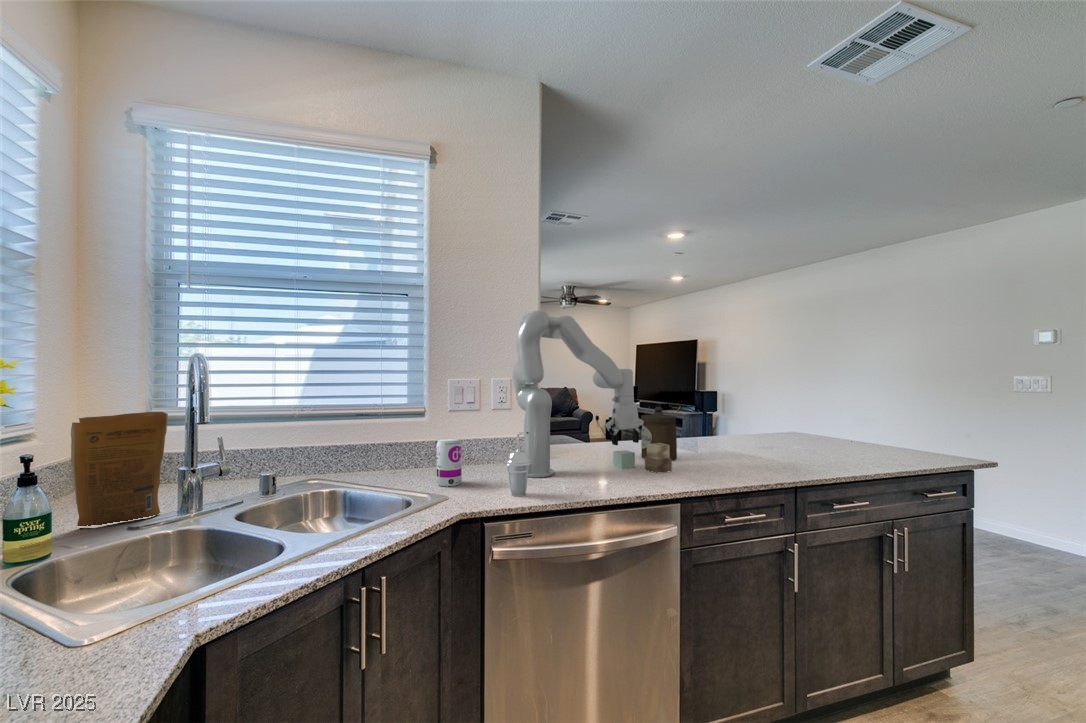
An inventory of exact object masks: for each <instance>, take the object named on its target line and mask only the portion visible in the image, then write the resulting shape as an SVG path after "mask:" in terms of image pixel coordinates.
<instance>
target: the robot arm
mask: <svg viewBox="0 0 1086 723" xmlns="http://www.w3.org/2000/svg"><path fill="white" fill-rule="evenodd" d="M519 325H520V328H519V330H518V332H517V337H516V351H517V352H516V353H517V362H516V363H515V364H514V366H513V368H512V380H513V386H514V392H515V397H516V398H515V399H516V401H517V404H518V406H519V408H520V409H521V410H523V411H524V412H525V414H524V420H523V421H524V422H523V432H528V434H523V436H524V437H523V438H524V440H523V441H524V442H523V447H524V448H523V449H524V450H523V451H525V452H526V453H527V454H528V456H529V459H530V460H532V464H530V467H529V472H528V478H548V477H552V476H554V475H555V470H554V469H553V468H551V413H552V406H553V405H552V404H553V402H552V401H553V400H552V397H551V395H550V393H549V392H548V391H547V390H546V389H543V388H540V387H539V384H540V383H541V382H542V381H543V379H544V377H545V370H544V365H543V360H542V354H541V338H546V339H555V340H560V339H561V341H562V343H563V342H564V344H565V345H566V347H567V348H568V350H569V351H570V352H571V353H572V355H573V356H574V358H576V359H578V360H579V361H580V362H582V363H585V364H586V365H588V366H590V367H591V368H592V369H594V370H595V372H594V373H593V375H592V381H593V384H594V385H595V386H596V387H598V388H600V389H610V390H611V389H612V390H613V389H614V390H613V391H614V392H613V394H614V396H613V397H611V398H612V399H611V400H612V402H614V403H613V405H612V411H611V419H610V420H609V421H608V422H606V423H605V424H604V425H605V427H606V429H607V432H609V433H610V435H611V445H613V446H618V445H619V436H618V433H619V431H625V430H626V431H627V430H632V442H633V443H637V444H639V441H640V433H641V428H642V426H643V423H644V421H643V420H641V418H640V417H639V412H638V408H637V403H635V397H634V396H635V395H634V394H635V393H634V392H635V391H634V372H633V370H632V369H631V368H619V367H618V366H617V364H616V362H615V361H613V359H612V358H611V357H610V356H609V355H608V354H607V353H605V352H604V351H603V350H601V348H599V347H598V346H597V345H596V344H595V343H593V342H592V340H591V339H590V336H589V337H588V335H587V333H585V331H584V329H583V328H582V326H580V324H579V323H578V322H577V321H576V319H575V318H574V317H572V316H571V315H562V316H557V317H556V316H550V314H549V313H547V311H545V310H540V309H539V310H534V311H532V312H528V313H527V314H525V315H524V316H522V317H521V319H520V323H519Z"/></svg>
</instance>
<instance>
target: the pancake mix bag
mask: <svg viewBox="0 0 1086 723" xmlns="http://www.w3.org/2000/svg"><path fill="white" fill-rule="evenodd" d="M168 416H169V413H167V412H164V411H145V412H134V413H133V412H131V413H123V414H122V413H121V414H115V415H114V414H113V415H102V416H100V415H99V416H86V417H79V418H78V420H79V422H73V421H72V423H71V427H70V439H71V442H70V464H71V466H72V469H71V470H72V471H71V473H72V479H73V485H74V493H75V504H76V508H77V514H78V521H77V524H76V527H77V526H87V525H88V526H91V525H102V524H107V523H113V522H120V521H128V520H133V519H138V518H143V517H149V516H153V515H156V514H159V513H161V510H160V505H159V500H158V498H159V496H158V495H159V489H160V484H161V467H162V462H163V460H164V459H163V458H164V453H165V444H166V443H165V442H166V434H167V431H168V430H167V429H168V418H169V417H168ZM159 515H160V514H159Z"/></svg>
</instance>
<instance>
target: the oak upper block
mask: <svg viewBox="0 0 1086 723" xmlns="http://www.w3.org/2000/svg"><path fill="white" fill-rule="evenodd" d="M647 457H649V458H652V459H656V460H659V459H668V458H670V445H667V444H662V443H651V444H647Z"/></svg>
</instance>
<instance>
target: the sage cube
mask: <svg viewBox="0 0 1086 723" xmlns="http://www.w3.org/2000/svg"><path fill="white" fill-rule="evenodd" d="M612 454H613V455H612V456H613V464H612V465H613V467H614V466H615V468H617V467H618V468H617V469H620V468H621V470H625V469H624V468H628V469H634V468H633V467H635V468H636V464H635V463H636V455H635V454H636V452H634V451H630V450H627V449H623V450H614V451H613V452H612Z"/></svg>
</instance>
